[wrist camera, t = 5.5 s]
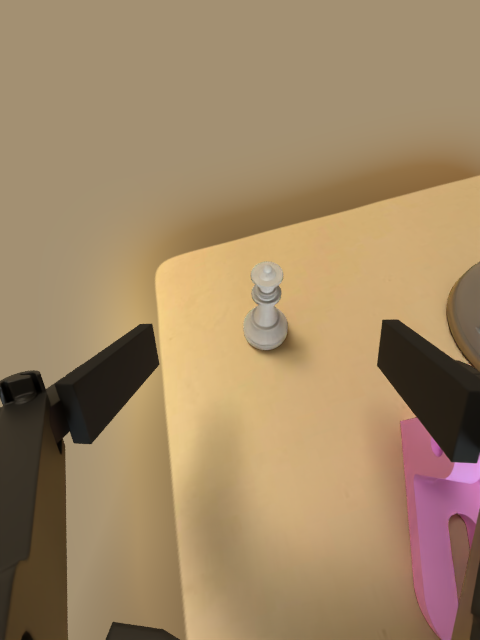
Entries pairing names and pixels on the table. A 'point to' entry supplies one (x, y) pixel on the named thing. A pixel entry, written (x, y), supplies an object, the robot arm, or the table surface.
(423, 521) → the bracket
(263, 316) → the chess piece
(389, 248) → the table surface
